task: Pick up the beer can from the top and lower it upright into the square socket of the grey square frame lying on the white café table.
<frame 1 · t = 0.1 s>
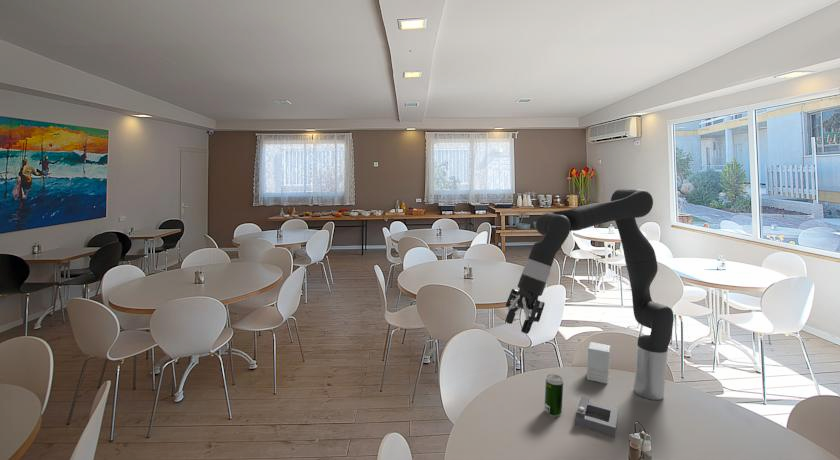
hand: (516, 327, 117), 31 cm above the table, tool tilted 20°, fingers open, 8 cm apart
grey square frame: (596, 421, 122), on the table
beer can: (552, 413, 127), on the table
supplement box: (597, 378, 150), on the table
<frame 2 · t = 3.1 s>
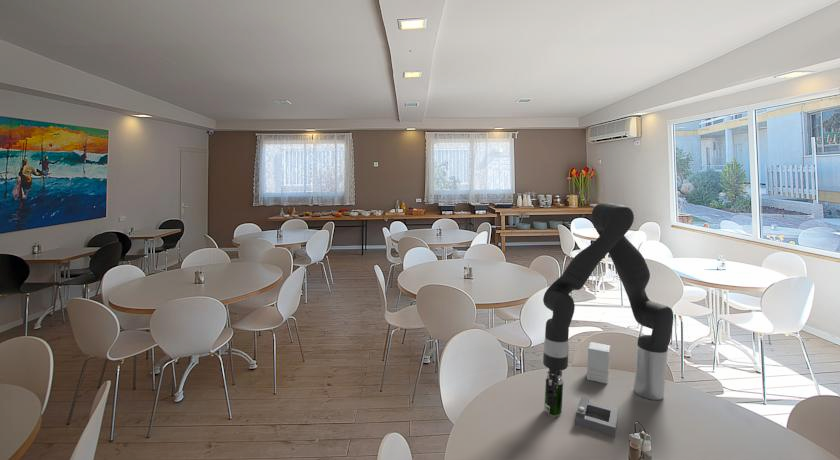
hand: (553, 401, 127), 4 cm above the table, tool pointing down, fingers closed on beer can, 5 cm apart
beer can: (552, 413, 127), on the table, touching gripper
everything else where it was.
when the fingers open (5 cm above the table, at t = 7.6 s): beer can stays where it is, resting in grey square frame.
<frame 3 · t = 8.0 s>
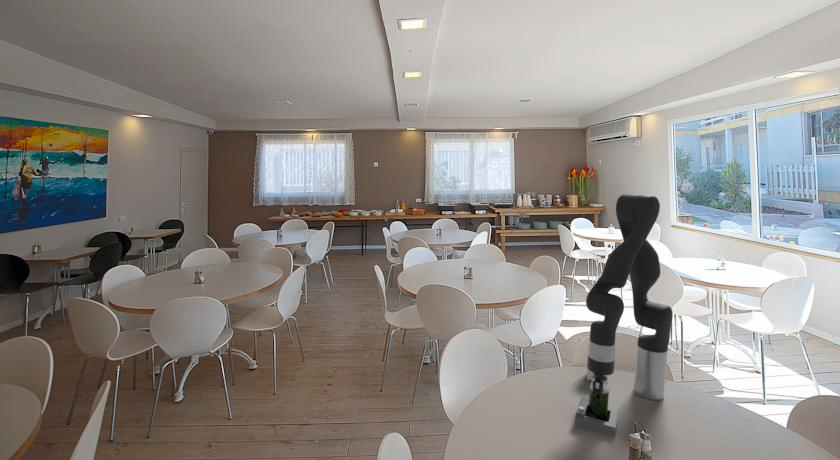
hand: (598, 405, 122), 6 cm above the table, tool pointing down, fingers open, 8 cm apart
beer can: (597, 422, 122), resting in grey square frame
everything else where it was.
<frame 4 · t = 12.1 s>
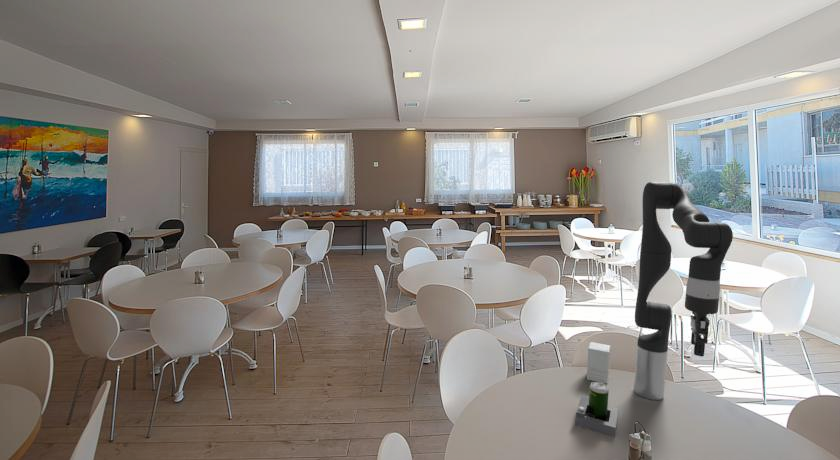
hand: (697, 349, 110), 28 cm above the table, tool pointing down, fingers open, 8 cm apart
nothing on the table moved.
at the end: beer can 0.0 cm off-centre on the grey square frame, point 0.0 cm above the grey square frame's base; beer can tilted 0°; the gripper is holding nothing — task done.
